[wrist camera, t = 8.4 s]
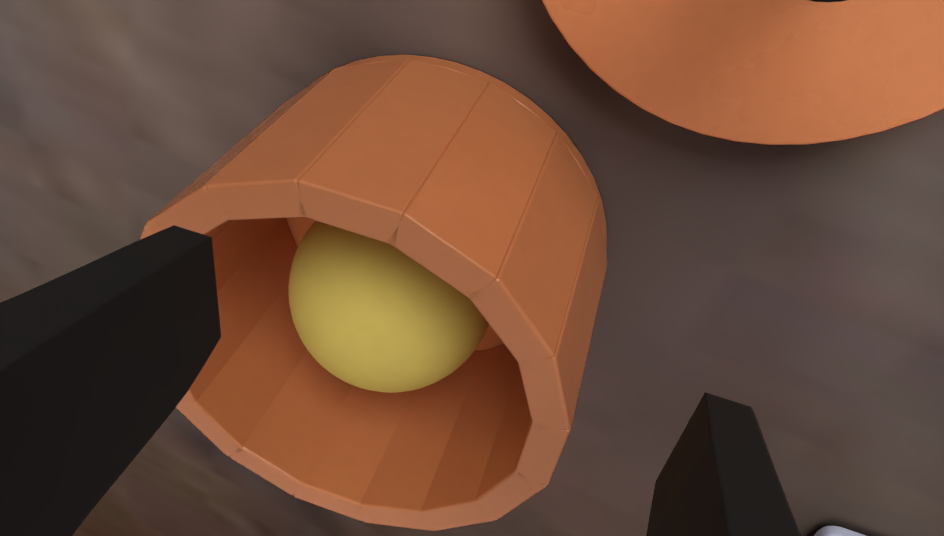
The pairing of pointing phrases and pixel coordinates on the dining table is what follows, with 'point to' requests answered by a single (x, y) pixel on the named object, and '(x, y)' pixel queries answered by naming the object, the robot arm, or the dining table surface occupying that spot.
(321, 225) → the ball
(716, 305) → the dining table surface
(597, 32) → the orange pot lid
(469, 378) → the orange pot
